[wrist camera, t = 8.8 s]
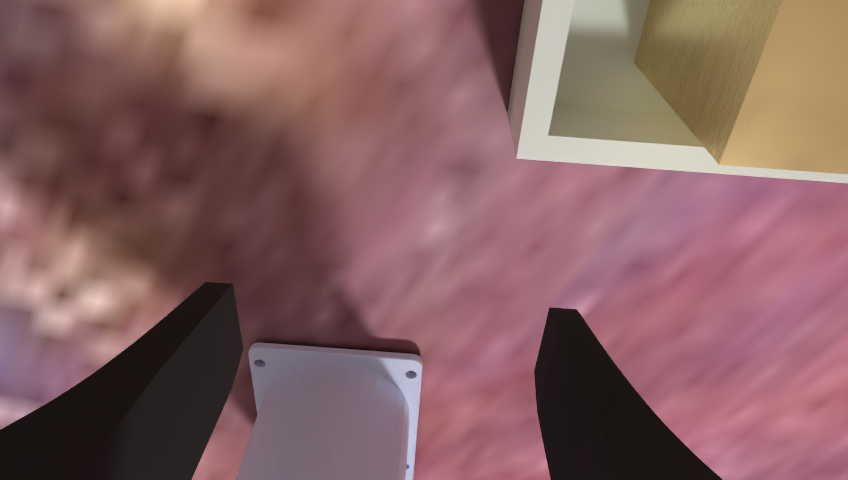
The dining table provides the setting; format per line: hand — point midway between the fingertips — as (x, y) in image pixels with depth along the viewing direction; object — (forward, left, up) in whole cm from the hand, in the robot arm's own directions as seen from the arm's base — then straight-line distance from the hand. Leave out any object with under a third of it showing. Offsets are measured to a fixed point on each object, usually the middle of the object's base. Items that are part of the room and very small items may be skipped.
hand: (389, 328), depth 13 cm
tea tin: (+6, -9, -8) cm, 14 cm away
